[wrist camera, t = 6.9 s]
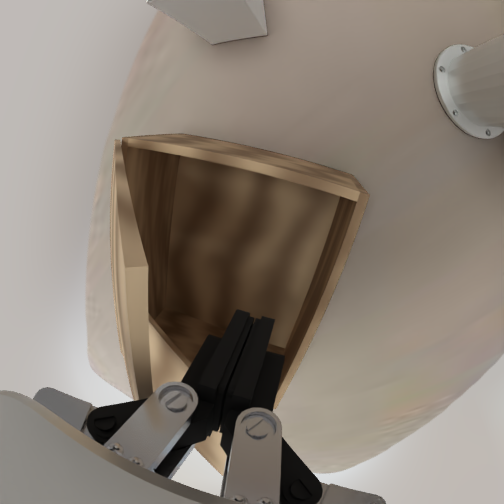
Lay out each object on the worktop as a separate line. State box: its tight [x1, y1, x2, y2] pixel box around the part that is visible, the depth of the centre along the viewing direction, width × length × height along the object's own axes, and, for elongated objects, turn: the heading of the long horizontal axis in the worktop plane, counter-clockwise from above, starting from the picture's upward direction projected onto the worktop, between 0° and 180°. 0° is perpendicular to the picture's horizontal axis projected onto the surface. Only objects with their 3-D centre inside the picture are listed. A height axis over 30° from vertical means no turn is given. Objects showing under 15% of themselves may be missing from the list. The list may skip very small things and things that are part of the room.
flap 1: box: [110, 140, 153, 401], centre depth 17 cm, size 22×14×1 cm
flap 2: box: [112, 280, 227, 476], centre depth 25 cm, size 22×14×1 cm
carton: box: [121, 134, 370, 409], centre depth 32 cm, size 22×28×12 cm
